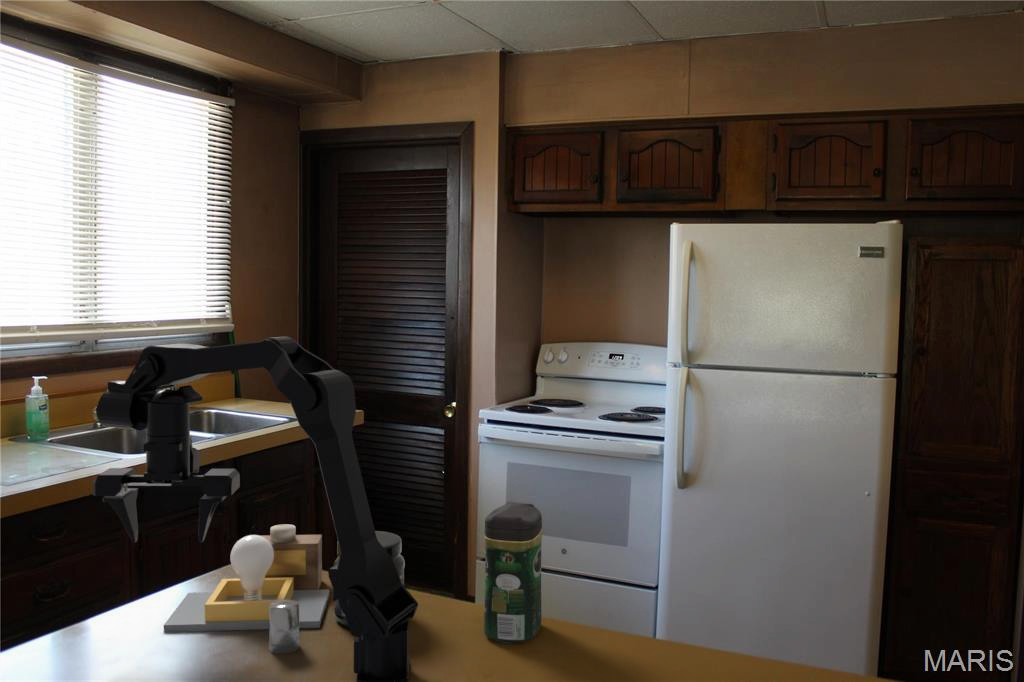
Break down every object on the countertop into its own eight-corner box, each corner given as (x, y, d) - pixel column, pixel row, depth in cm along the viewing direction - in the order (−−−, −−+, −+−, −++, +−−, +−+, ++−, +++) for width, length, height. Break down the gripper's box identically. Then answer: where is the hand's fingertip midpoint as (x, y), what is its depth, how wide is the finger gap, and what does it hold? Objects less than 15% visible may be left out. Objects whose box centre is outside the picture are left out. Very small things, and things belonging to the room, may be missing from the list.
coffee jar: (494, 616, 130) (496, 496, 129) (545, 622, 128) (547, 500, 127) (476, 642, 121) (477, 512, 120) (531, 649, 119) (533, 517, 118)
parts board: (329, 595, 138) (329, 574, 138) (319, 627, 125) (319, 604, 125) (188, 598, 136) (188, 577, 136) (163, 631, 123) (163, 608, 123)
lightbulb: (261, 616, 127) (261, 543, 126) (222, 612, 128) (221, 540, 127) (282, 600, 133) (281, 531, 132) (244, 597, 134) (243, 528, 133)
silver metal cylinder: (301, 641, 120) (301, 599, 120) (296, 653, 117) (296, 610, 116) (272, 641, 120) (271, 600, 120) (266, 654, 116) (266, 610, 116)
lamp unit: (321, 581, 145) (321, 522, 144) (317, 592, 139) (317, 532, 139) (249, 582, 144) (248, 523, 143) (242, 594, 138) (241, 533, 138)
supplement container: (387, 635, 123) (388, 553, 122) (321, 626, 126) (321, 546, 125) (414, 608, 133) (415, 532, 132) (352, 601, 136) (352, 527, 135)
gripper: (248, 424, 129) (248, 525, 131) (120, 423, 128) (121, 525, 129) (230, 437, 118) (230, 548, 119) (90, 436, 117) (91, 548, 118)
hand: (168, 541), depth 122 cm, fingers open, 9 cm apart
